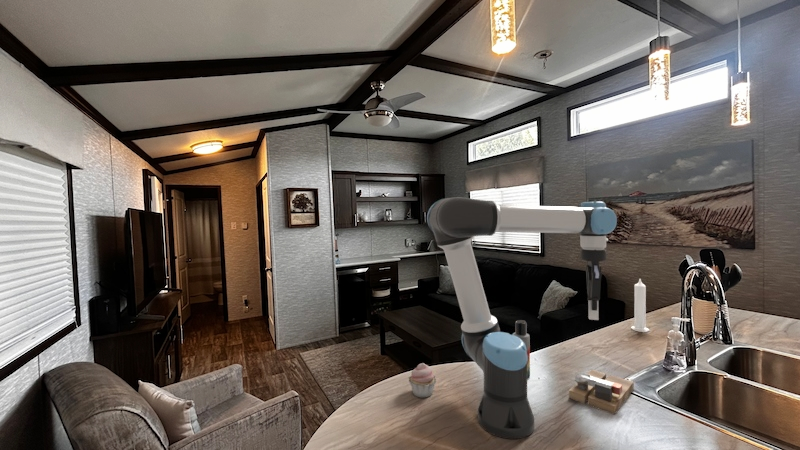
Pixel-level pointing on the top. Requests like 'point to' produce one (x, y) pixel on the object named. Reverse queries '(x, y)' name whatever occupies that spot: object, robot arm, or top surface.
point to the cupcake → (422, 381)
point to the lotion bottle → (523, 339)
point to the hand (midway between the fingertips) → (593, 319)
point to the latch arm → (591, 381)
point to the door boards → (602, 393)
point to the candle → (640, 308)
